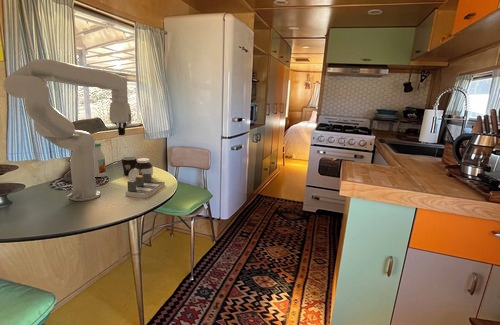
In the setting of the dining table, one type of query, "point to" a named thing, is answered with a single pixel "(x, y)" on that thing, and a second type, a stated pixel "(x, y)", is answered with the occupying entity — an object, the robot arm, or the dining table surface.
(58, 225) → the dining table surface
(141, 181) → the breaker
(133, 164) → the coffee mug
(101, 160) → the milk bottle
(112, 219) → the dining table surface
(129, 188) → the small tray
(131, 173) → the spread jar
